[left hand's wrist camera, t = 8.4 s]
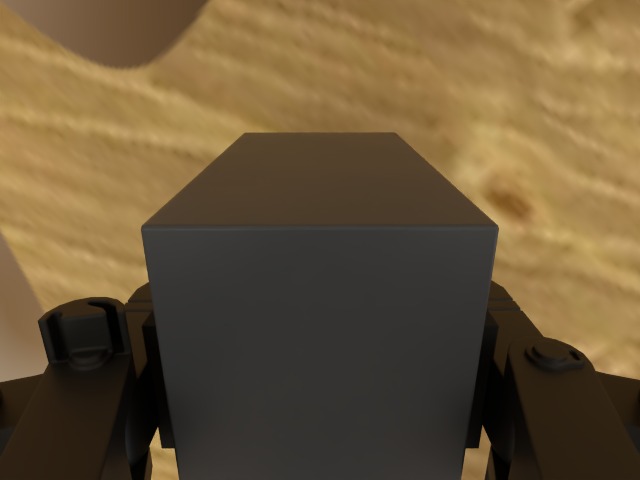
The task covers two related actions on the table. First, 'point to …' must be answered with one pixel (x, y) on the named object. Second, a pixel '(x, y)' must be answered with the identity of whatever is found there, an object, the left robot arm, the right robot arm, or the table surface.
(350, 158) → the bar
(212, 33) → the table surface
